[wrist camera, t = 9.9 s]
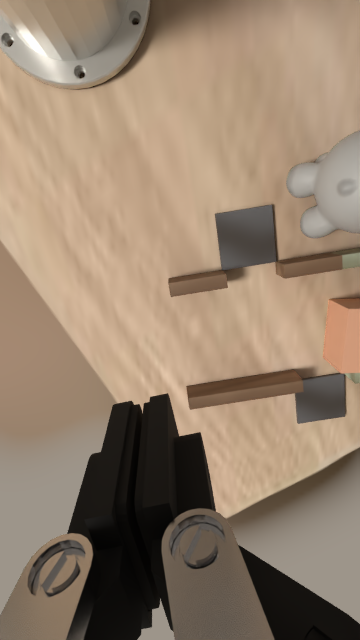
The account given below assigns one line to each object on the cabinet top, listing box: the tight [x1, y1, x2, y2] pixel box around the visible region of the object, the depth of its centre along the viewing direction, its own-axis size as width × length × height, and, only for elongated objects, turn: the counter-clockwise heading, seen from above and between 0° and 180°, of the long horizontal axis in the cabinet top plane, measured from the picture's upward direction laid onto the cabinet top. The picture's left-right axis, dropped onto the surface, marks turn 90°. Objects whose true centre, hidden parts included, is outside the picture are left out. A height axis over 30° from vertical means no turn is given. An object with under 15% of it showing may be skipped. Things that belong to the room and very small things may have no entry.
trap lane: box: [169, 205, 360, 424], centre depth 32 cm, size 22×22×2 cm
